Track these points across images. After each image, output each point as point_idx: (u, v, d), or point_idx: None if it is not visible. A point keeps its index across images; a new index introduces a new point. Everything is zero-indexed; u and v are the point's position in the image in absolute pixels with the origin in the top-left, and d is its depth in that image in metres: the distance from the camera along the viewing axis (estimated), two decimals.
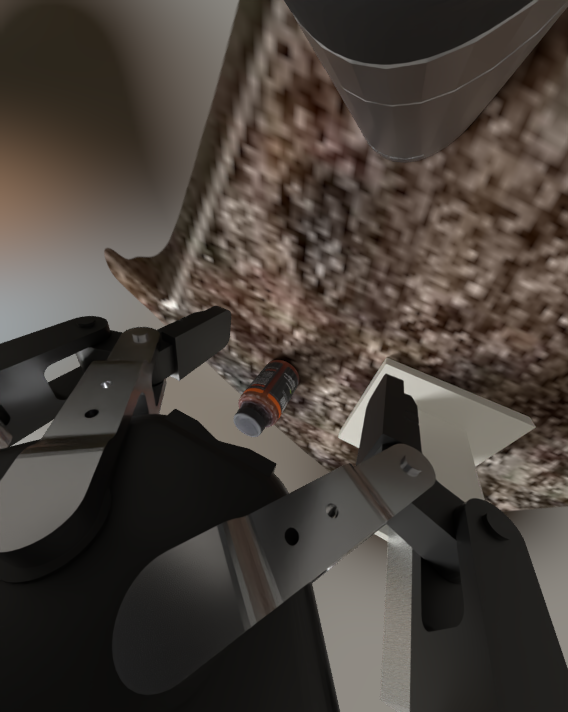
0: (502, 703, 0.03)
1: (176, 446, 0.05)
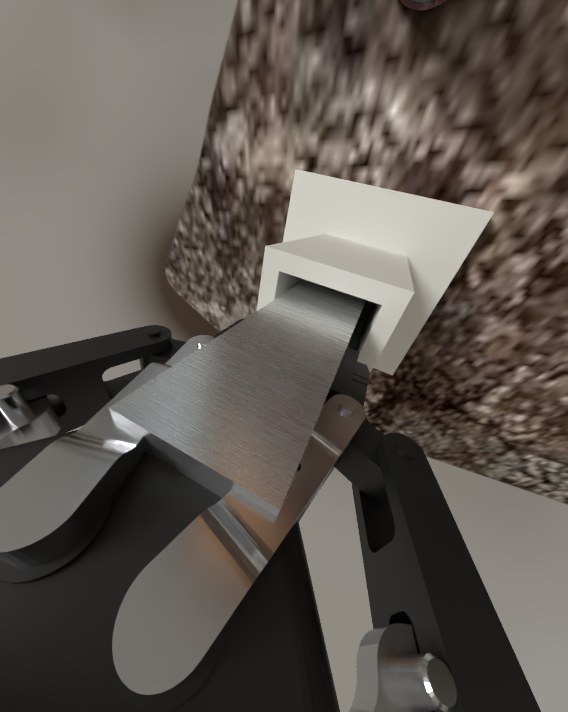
0: (428, 583, 0.04)
1: None
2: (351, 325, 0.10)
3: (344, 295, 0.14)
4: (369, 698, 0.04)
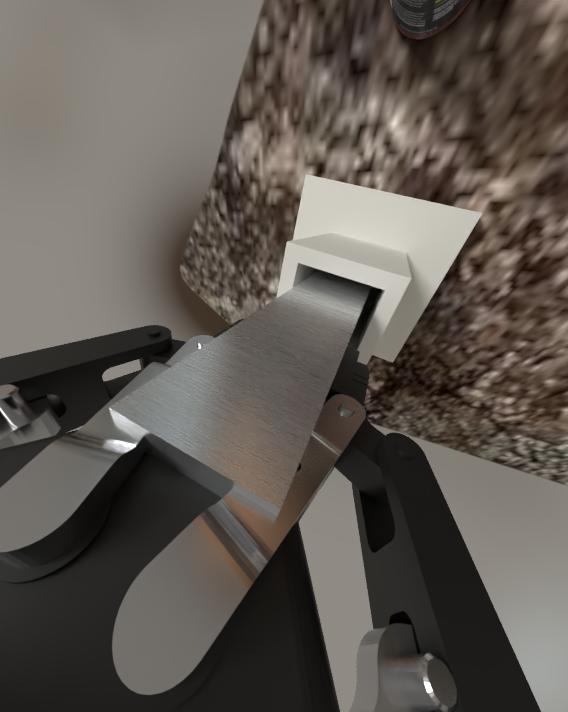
0: (428, 583, 0.04)
1: None
2: (351, 325, 0.10)
3: (344, 295, 0.14)
4: (370, 698, 0.04)
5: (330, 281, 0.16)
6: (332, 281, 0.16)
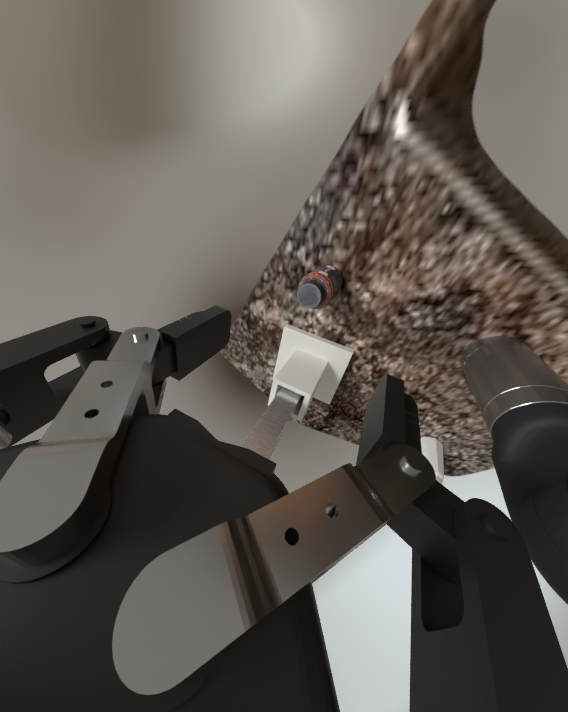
0: (502, 703, 0.03)
1: (176, 446, 0.05)
2: (281, 428, 0.37)
3: (284, 409, 0.40)
4: None
5: (282, 399, 0.42)
6: (283, 399, 0.42)
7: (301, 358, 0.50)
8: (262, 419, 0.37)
